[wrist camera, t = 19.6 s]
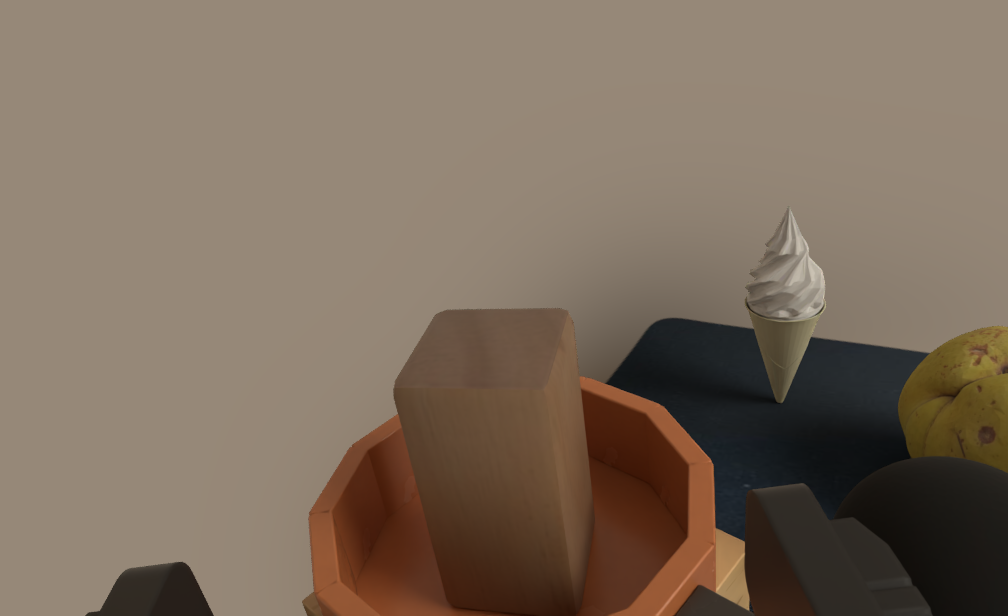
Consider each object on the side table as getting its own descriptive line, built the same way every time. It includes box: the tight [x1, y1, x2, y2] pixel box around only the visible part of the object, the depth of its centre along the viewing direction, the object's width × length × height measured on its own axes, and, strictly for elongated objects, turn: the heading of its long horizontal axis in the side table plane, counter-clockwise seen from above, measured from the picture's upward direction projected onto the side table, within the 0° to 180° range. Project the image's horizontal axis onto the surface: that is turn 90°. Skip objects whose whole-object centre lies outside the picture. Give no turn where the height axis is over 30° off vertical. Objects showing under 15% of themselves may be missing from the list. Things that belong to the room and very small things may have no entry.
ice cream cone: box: [745, 206, 826, 403], centre depth 48 cm, size 5×5×15 cm
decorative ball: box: [833, 456, 1008, 616], centre depth 32 cm, size 10×10×10 cm
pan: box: [308, 376, 755, 616], centre depth 19 cm, size 18×11×4 cm, turn 47°
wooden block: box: [393, 308, 595, 616], centre depth 20 cm, size 4×4×8 cm
